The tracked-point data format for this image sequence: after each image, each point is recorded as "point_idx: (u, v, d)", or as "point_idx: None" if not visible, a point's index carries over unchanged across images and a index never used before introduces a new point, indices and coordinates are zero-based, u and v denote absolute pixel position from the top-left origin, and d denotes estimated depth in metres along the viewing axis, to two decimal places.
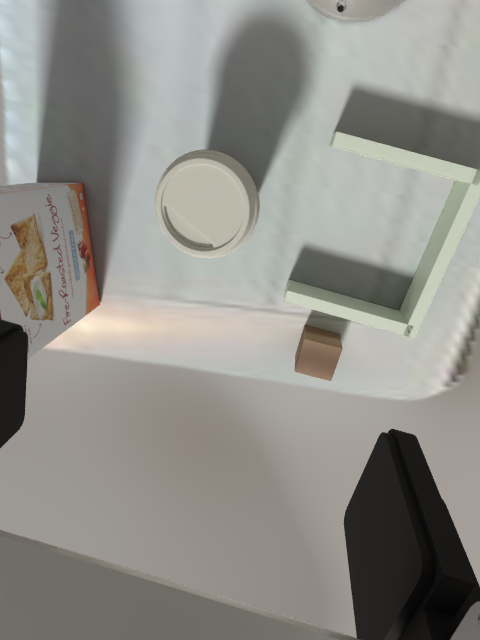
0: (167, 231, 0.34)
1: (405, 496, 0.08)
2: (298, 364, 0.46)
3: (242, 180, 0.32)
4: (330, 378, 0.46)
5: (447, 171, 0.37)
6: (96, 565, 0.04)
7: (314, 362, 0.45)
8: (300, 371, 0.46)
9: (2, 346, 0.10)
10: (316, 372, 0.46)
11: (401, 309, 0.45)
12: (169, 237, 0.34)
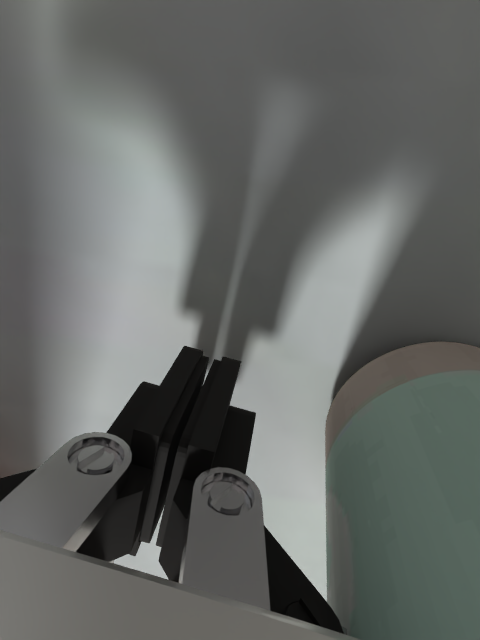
0: None
1: (198, 399, 0.09)
2: None
3: None
4: None
5: None
6: (96, 565, 0.04)
7: None
8: None
9: (201, 372, 0.11)
10: None
11: None
12: None
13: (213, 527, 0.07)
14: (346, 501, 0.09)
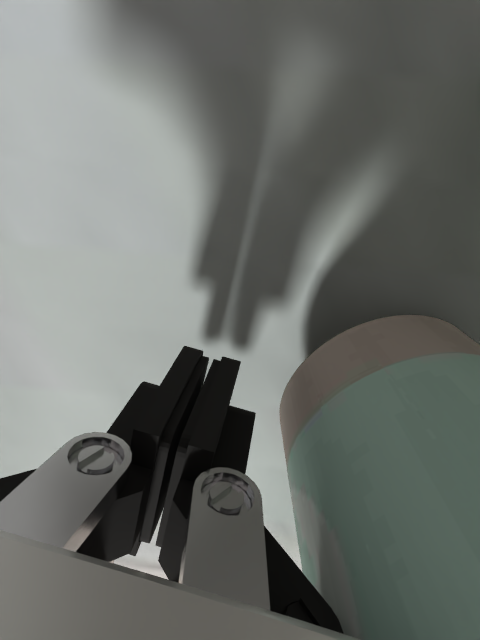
0: None
1: (198, 399, 0.09)
2: None
3: None
4: None
5: None
6: (96, 565, 0.04)
7: None
8: None
9: (202, 372, 0.11)
10: None
11: None
12: None
13: (213, 527, 0.07)
14: (330, 512, 0.08)
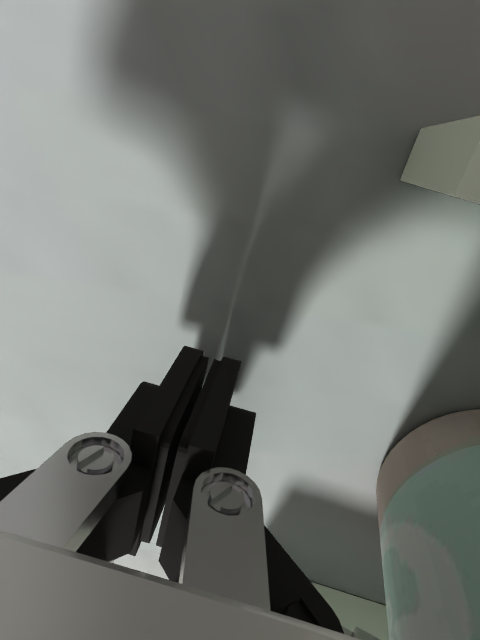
0: None
1: (199, 399, 0.09)
2: None
3: None
4: None
5: None
6: (96, 565, 0.04)
7: None
8: None
9: (201, 372, 0.11)
10: None
11: None
12: None
13: (213, 527, 0.07)
14: (443, 533, 0.09)
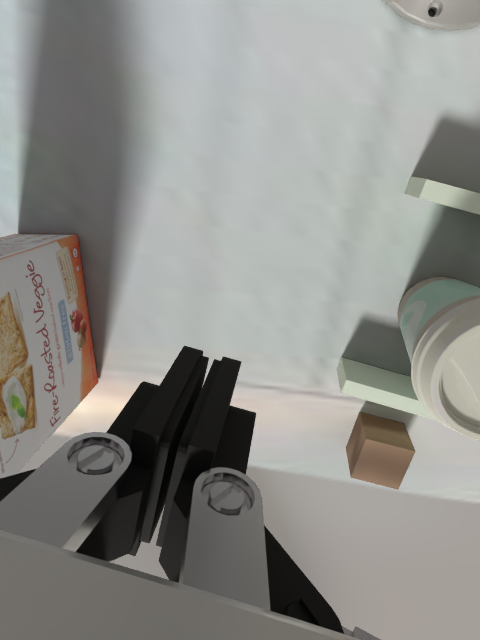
0: (437, 395, 0.23)
1: (199, 399, 0.09)
2: (356, 469, 0.35)
3: None
4: (397, 486, 0.35)
5: None
6: (96, 565, 0.04)
7: (377, 467, 0.35)
8: (358, 476, 0.36)
9: (201, 372, 0.11)
10: (379, 478, 0.35)
11: None
12: (436, 402, 0.23)
13: (213, 527, 0.07)
14: (420, 298, 0.29)
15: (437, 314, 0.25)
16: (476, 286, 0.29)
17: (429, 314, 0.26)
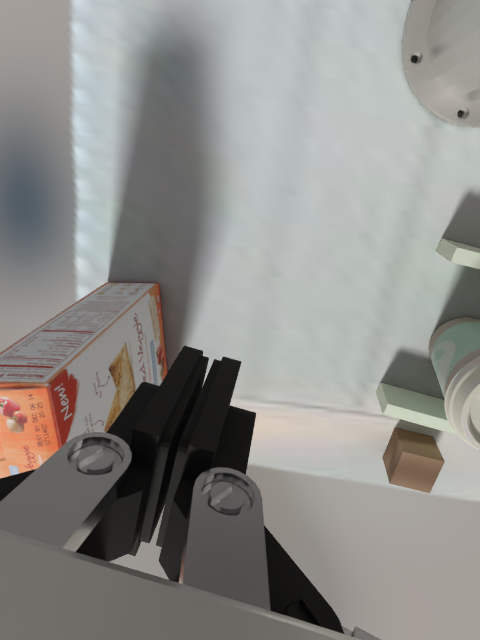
0: (466, 423, 0.30)
1: (199, 399, 0.09)
2: (394, 476, 0.42)
3: None
4: (429, 490, 0.42)
5: None
6: (96, 565, 0.04)
7: (412, 474, 0.42)
8: (396, 482, 0.42)
9: (201, 372, 0.11)
10: (413, 484, 0.42)
11: None
12: (465, 428, 0.30)
13: (213, 527, 0.07)
14: (450, 339, 0.36)
15: (465, 358, 0.32)
16: None
17: (459, 356, 0.33)
